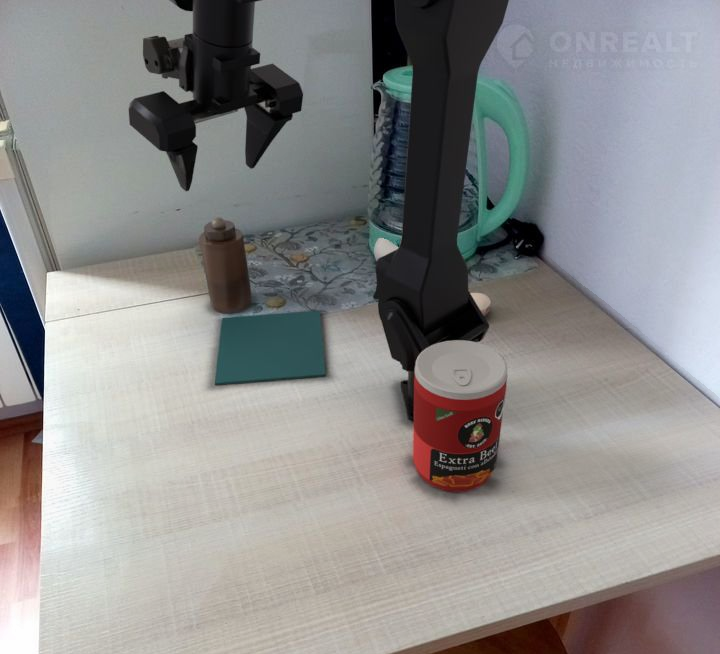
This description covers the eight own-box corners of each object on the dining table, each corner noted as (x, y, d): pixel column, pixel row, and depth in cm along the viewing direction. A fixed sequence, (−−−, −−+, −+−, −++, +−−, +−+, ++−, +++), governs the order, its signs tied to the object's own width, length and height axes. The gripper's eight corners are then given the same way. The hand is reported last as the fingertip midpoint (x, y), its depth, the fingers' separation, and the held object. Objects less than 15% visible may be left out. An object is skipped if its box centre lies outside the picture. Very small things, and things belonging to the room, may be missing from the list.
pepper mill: (252, 312, 88) (239, 225, 81) (210, 315, 88) (193, 228, 80) (253, 292, 92) (240, 207, 85) (213, 295, 92) (197, 210, 84)
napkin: (325, 376, 77) (325, 374, 77) (215, 385, 76) (214, 382, 76) (319, 312, 87) (319, 310, 87) (222, 319, 87) (222, 317, 87)
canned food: (430, 502, 61) (434, 400, 54) (400, 446, 67) (401, 348, 60) (510, 483, 63) (525, 382, 56) (475, 430, 69) (484, 332, 62)
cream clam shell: (483, 325, 84) (485, 307, 82) (443, 318, 85) (444, 299, 84) (493, 308, 87) (495, 290, 85) (454, 302, 88) (455, 283, 86)
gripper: (245, -17, 76) (238, 122, 88) (88, 10, 66) (105, 162, 78) (315, 31, 72) (297, 169, 84) (160, 67, 62) (165, 217, 75)
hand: (218, 177), depth 81 cm, fingers open, 9 cm apart
